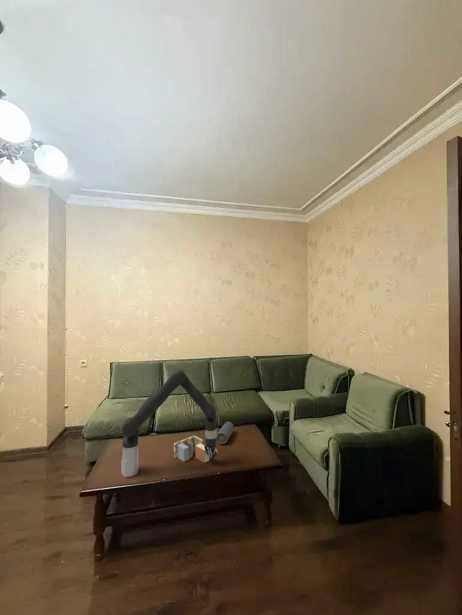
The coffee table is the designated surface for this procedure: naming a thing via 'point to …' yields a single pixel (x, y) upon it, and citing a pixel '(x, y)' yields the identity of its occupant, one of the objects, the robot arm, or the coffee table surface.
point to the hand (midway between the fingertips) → (211, 462)
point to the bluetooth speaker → (225, 432)
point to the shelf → (193, 439)
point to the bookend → (190, 448)
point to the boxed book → (201, 453)
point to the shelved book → (183, 452)
